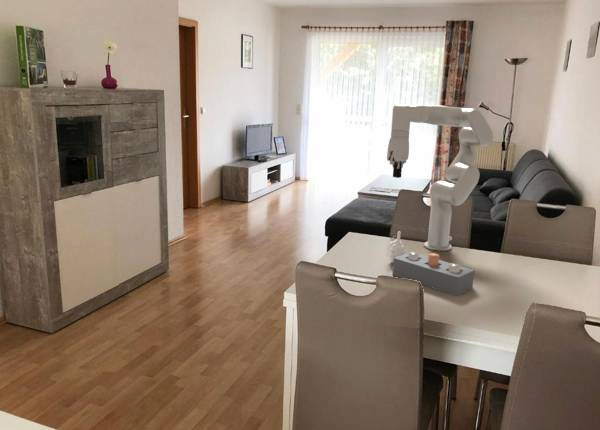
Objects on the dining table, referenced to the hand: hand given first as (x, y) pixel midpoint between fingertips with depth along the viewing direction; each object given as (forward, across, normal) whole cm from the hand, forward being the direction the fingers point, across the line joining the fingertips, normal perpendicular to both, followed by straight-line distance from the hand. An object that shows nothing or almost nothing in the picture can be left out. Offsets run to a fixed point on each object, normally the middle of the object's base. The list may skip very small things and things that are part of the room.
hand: (396, 177), depth 218 cm
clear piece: (+34, +15, +39) cm, 54 cm away
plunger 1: (+34, +15, +21) cm, 43 cm away
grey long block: (+35, +15, +30) cm, 48 cm away
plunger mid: (+32, +15, +30) cm, 47 cm away
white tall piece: (+35, +8, +8) cm, 37 cm away
